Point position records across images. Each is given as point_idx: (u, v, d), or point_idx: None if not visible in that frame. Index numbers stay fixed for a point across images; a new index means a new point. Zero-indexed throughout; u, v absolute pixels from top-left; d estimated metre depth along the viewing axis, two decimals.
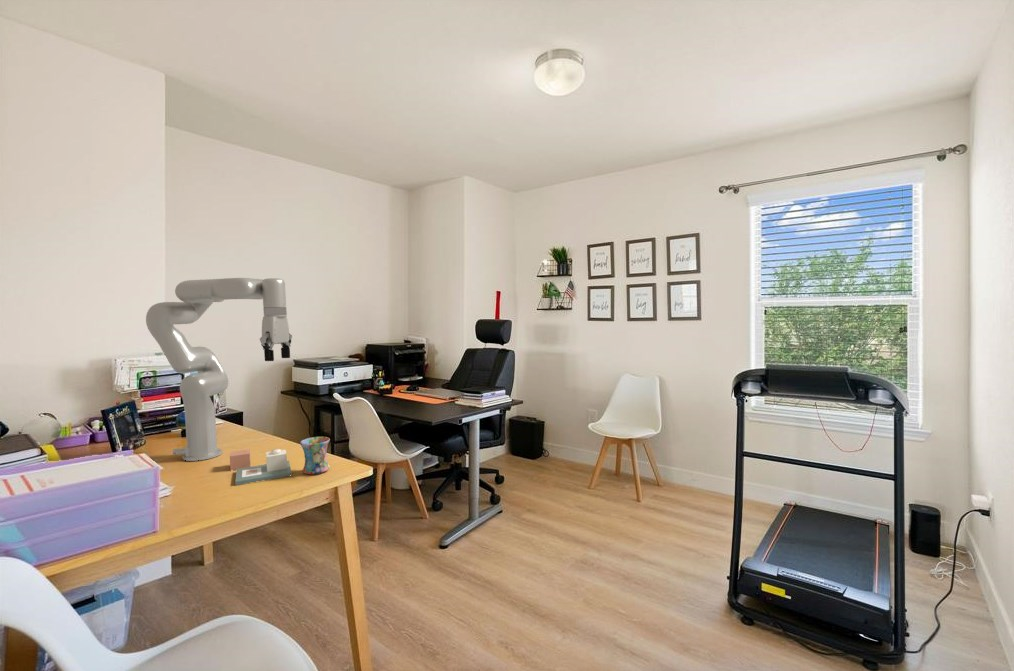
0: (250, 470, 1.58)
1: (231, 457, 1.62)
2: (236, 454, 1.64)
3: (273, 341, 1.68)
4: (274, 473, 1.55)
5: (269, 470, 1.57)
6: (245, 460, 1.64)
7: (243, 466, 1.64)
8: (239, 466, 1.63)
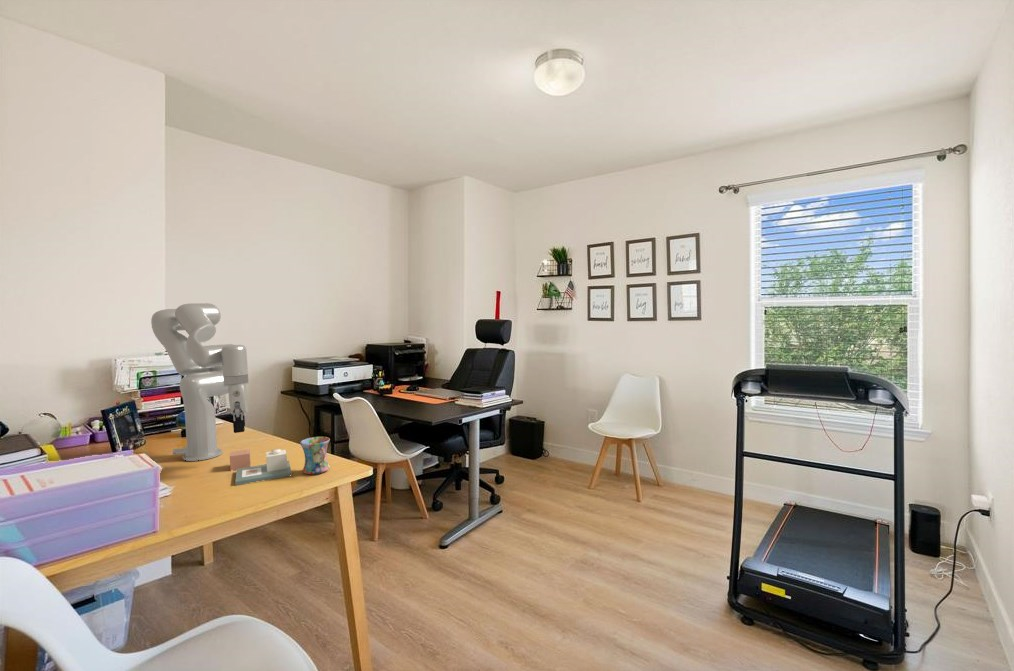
0: (250, 470, 1.58)
1: (231, 457, 1.62)
2: (236, 454, 1.64)
3: None
4: (274, 473, 1.55)
5: (269, 470, 1.57)
6: (245, 460, 1.64)
7: (243, 466, 1.64)
8: (239, 466, 1.63)
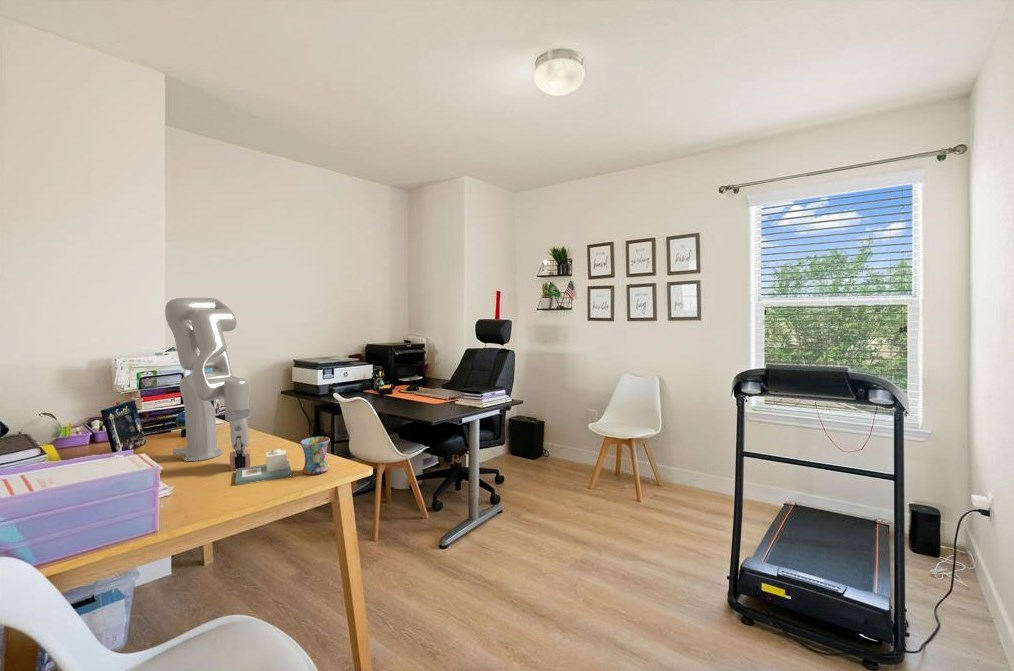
0: (250, 470, 1.58)
1: (231, 457, 1.62)
2: None
3: None
4: (274, 473, 1.55)
5: (269, 470, 1.57)
6: (245, 460, 1.64)
7: None
8: None
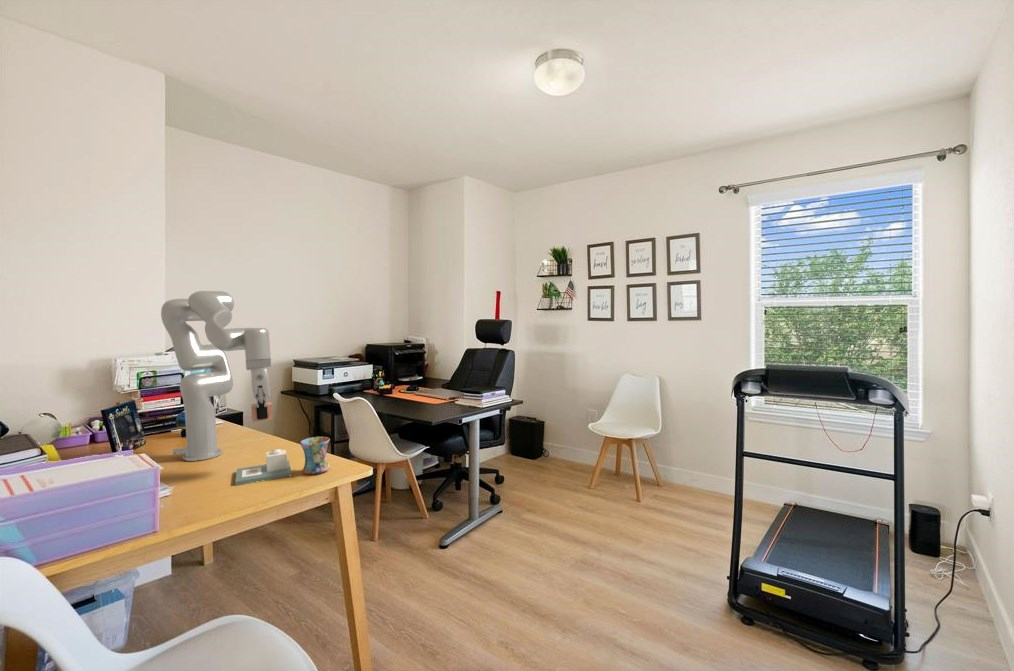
0: (250, 470, 1.58)
1: (253, 408, 1.57)
2: None
3: None
4: (274, 473, 1.55)
5: (269, 470, 1.57)
6: (267, 411, 1.59)
7: None
8: None
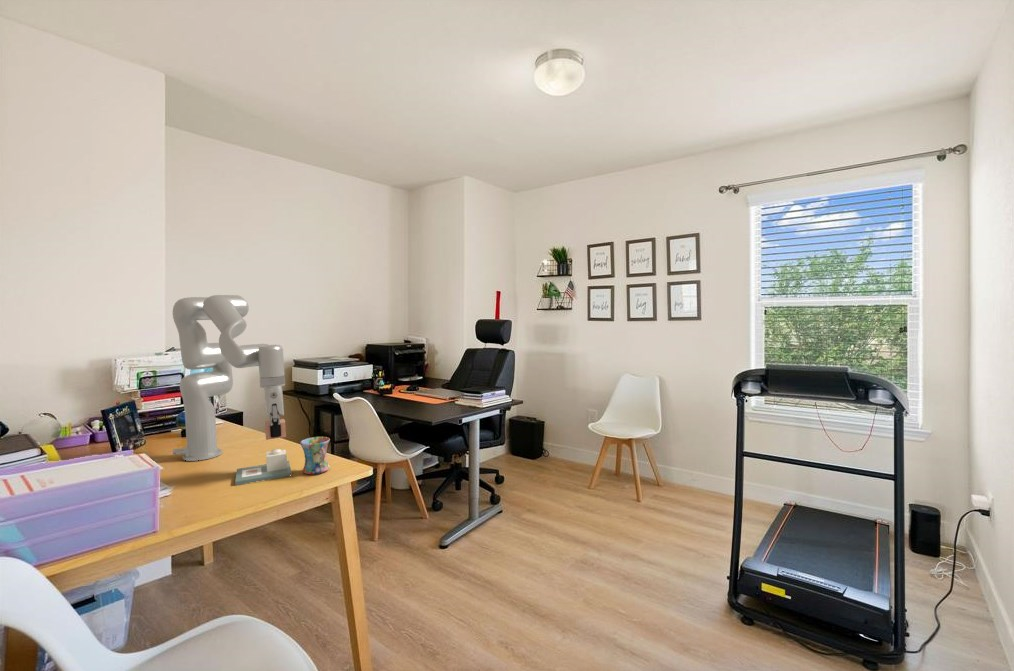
0: (250, 470, 1.58)
1: (266, 425, 1.56)
2: None
3: None
4: (274, 473, 1.55)
5: (269, 470, 1.57)
6: (281, 428, 1.58)
7: None
8: None
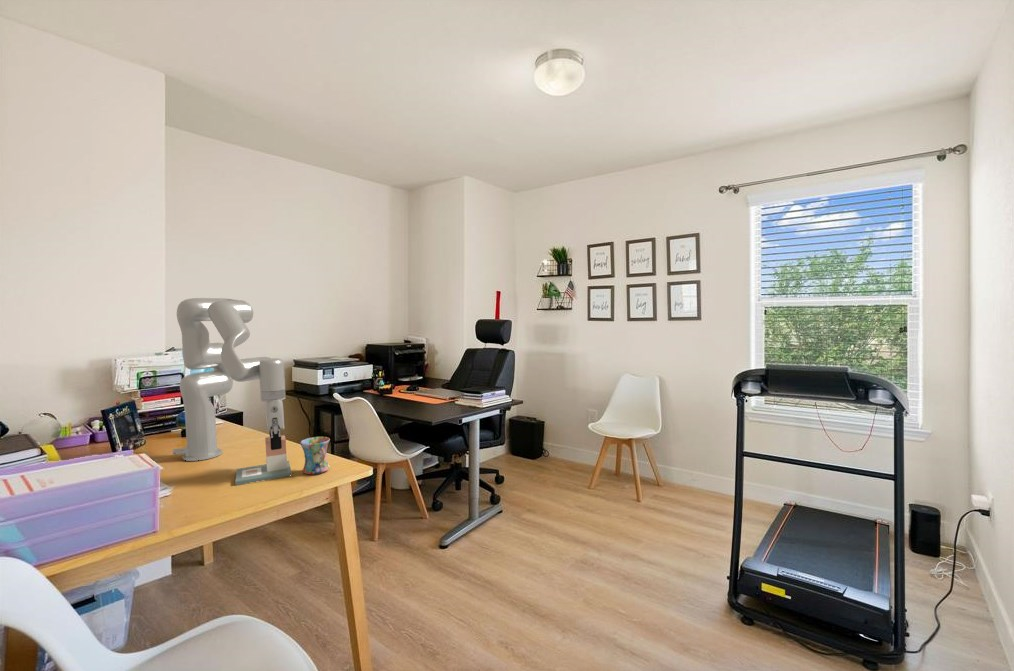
0: (250, 470, 1.58)
1: (267, 443, 1.56)
2: None
3: None
4: (274, 473, 1.55)
5: (269, 470, 1.57)
6: None
7: (279, 452, 1.58)
8: (275, 452, 1.57)
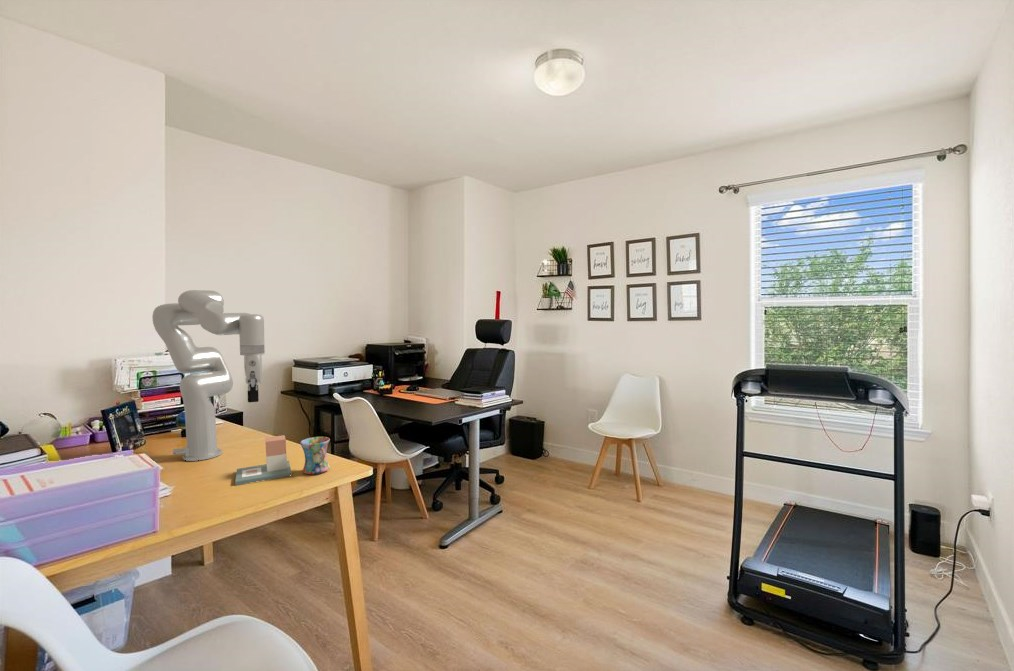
0: (250, 470, 1.58)
1: (267, 443, 1.56)
2: (272, 440, 1.58)
3: None
4: (274, 473, 1.55)
5: (269, 470, 1.57)
6: (281, 445, 1.58)
7: (279, 452, 1.58)
8: (275, 452, 1.57)
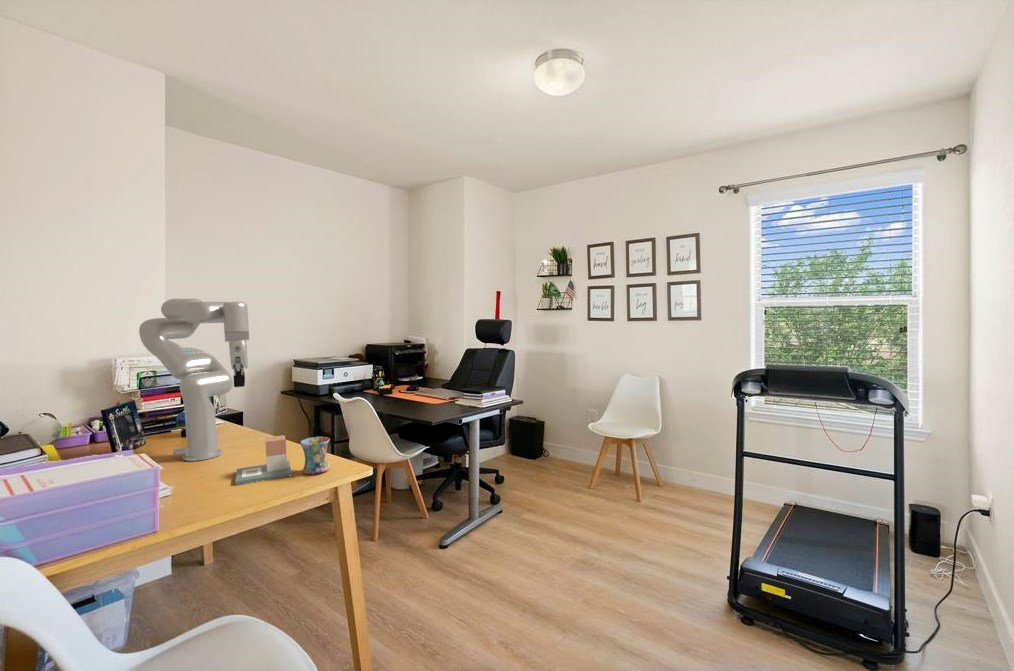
0: (250, 470, 1.58)
1: (267, 443, 1.56)
2: (272, 440, 1.58)
3: None
4: (274, 473, 1.55)
5: (269, 470, 1.57)
6: (281, 445, 1.58)
7: (279, 452, 1.58)
8: (275, 452, 1.57)
